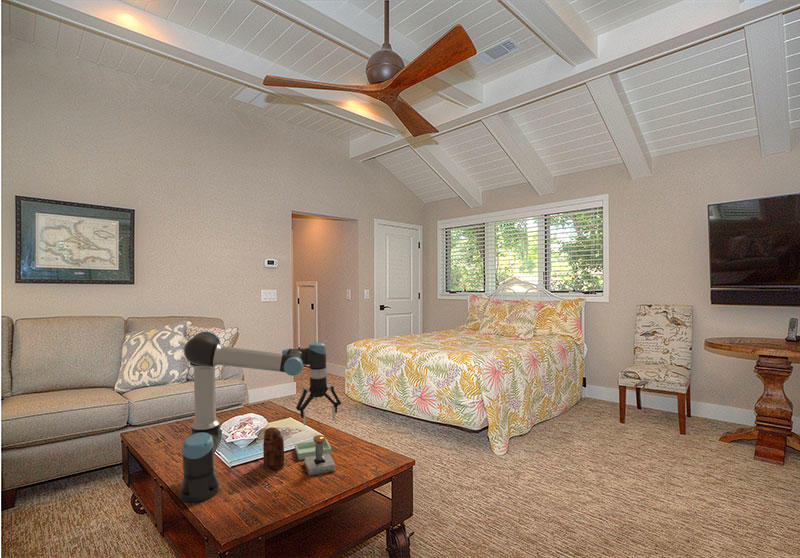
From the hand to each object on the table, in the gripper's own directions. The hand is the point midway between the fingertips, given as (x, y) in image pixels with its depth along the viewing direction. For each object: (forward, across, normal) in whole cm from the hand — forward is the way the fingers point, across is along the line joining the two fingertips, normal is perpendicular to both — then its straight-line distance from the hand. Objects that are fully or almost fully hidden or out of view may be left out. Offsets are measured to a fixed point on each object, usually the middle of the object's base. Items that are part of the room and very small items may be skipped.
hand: (319, 422), depth 215 cm
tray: (+21, 0, +17) cm, 27 cm away
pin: (+21, 0, 0) cm, 21 cm away
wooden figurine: (+21, -20, +9) cm, 31 cm away
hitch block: (+21, 0, 0) cm, 21 cm away
